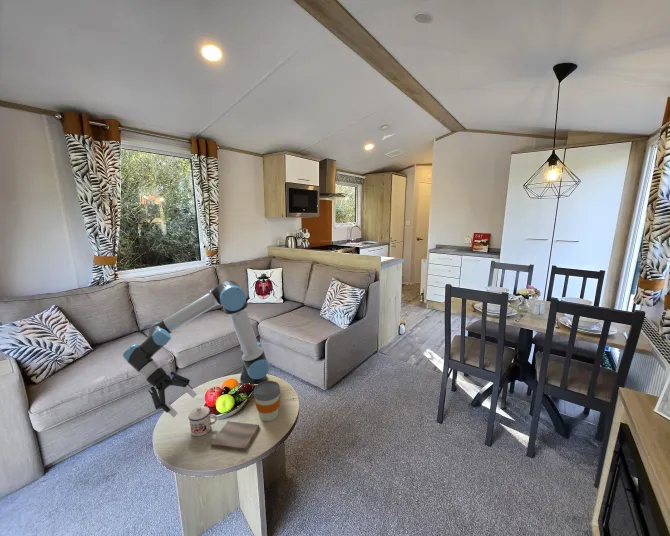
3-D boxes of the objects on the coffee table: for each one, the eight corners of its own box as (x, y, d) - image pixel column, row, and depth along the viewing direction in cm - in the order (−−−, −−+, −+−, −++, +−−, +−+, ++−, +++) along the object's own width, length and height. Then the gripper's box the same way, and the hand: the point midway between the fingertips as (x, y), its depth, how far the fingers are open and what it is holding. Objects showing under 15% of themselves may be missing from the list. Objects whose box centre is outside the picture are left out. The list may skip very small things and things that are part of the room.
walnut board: (227, 423, 142) (227, 421, 142) (259, 427, 139) (259, 424, 139) (211, 446, 128) (210, 443, 128) (245, 451, 126) (245, 448, 125)
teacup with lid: (187, 438, 133) (184, 415, 131) (193, 424, 142) (191, 402, 140) (215, 434, 135) (213, 412, 133) (220, 421, 144) (217, 399, 142)
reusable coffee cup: (250, 420, 144) (248, 393, 141) (264, 404, 156) (262, 378, 153) (273, 426, 140) (271, 398, 137) (286, 409, 152) (284, 383, 149)
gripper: (168, 363, 149) (198, 393, 150) (125, 394, 125) (161, 429, 126) (176, 355, 148) (206, 385, 148) (135, 383, 123) (171, 419, 124)
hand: (186, 405), depth 137 cm, fingers open, 13 cm apart
